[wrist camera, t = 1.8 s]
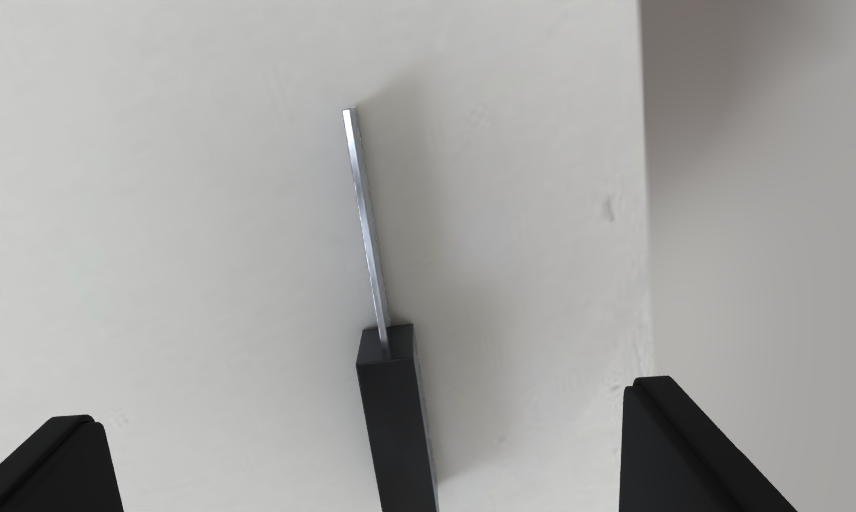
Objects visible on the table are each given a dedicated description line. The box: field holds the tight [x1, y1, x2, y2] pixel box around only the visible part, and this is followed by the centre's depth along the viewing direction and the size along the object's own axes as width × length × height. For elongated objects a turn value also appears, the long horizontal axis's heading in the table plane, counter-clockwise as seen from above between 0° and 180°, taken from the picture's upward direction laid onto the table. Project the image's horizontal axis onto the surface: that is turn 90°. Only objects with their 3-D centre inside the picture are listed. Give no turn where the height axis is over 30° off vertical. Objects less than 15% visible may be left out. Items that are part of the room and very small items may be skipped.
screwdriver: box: [342, 107, 439, 512], centre depth 25 cm, size 19×2×4 cm, turn 7°
